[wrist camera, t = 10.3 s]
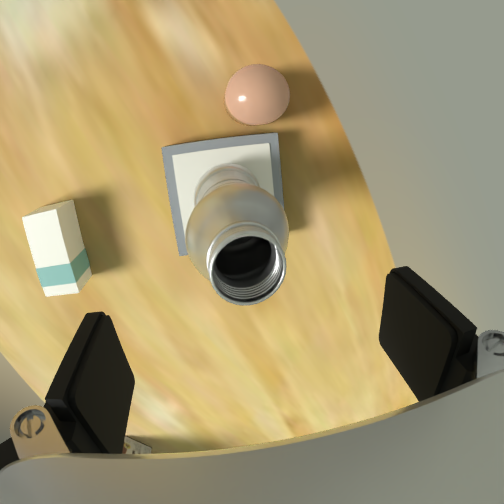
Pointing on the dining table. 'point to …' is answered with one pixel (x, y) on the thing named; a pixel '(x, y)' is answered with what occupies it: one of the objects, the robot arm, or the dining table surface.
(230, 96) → the pink smooth rounded part
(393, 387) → the dining table surface
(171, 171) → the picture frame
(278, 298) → the dining table surface
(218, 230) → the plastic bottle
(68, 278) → the lying carton
